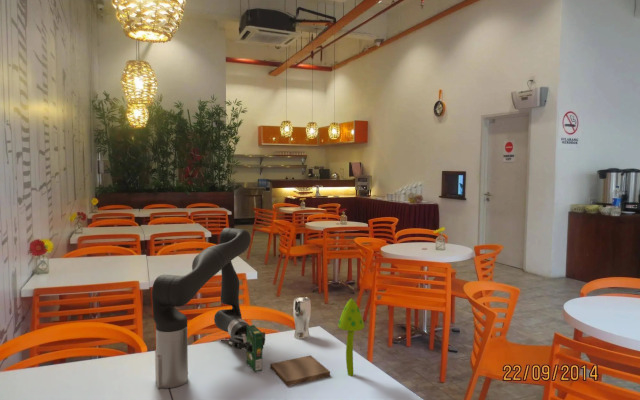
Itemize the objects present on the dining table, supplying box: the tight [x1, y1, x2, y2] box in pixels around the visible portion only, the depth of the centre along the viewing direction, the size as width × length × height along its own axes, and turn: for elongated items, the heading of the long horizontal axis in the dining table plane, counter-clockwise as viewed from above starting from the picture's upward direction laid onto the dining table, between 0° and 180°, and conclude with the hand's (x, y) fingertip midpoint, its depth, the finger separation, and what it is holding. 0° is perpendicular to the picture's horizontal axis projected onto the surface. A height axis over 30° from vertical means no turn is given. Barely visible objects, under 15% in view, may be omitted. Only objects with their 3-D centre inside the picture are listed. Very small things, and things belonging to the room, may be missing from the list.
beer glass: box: [292, 296, 312, 340], centre depth 173 cm, size 7×7×15 cm
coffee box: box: [246, 324, 263, 373], centre depth 145 cm, size 8×3×13 cm, turn 30°
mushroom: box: [337, 298, 365, 377], centre depth 140 cm, size 8×8×25 cm
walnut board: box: [269, 355, 331, 387], centre depth 142 cm, size 15×14×2 cm
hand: (256, 348), depth 143 cm, fingers closed on coffee box, 3 cm apart
